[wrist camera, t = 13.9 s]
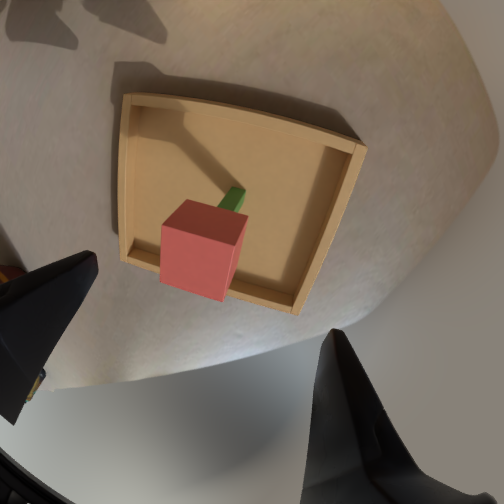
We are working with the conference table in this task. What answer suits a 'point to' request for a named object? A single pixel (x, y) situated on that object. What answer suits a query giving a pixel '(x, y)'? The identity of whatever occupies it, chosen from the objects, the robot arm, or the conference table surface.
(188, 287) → the cube with green stem
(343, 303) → the conference table surface
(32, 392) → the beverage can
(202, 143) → the tray
